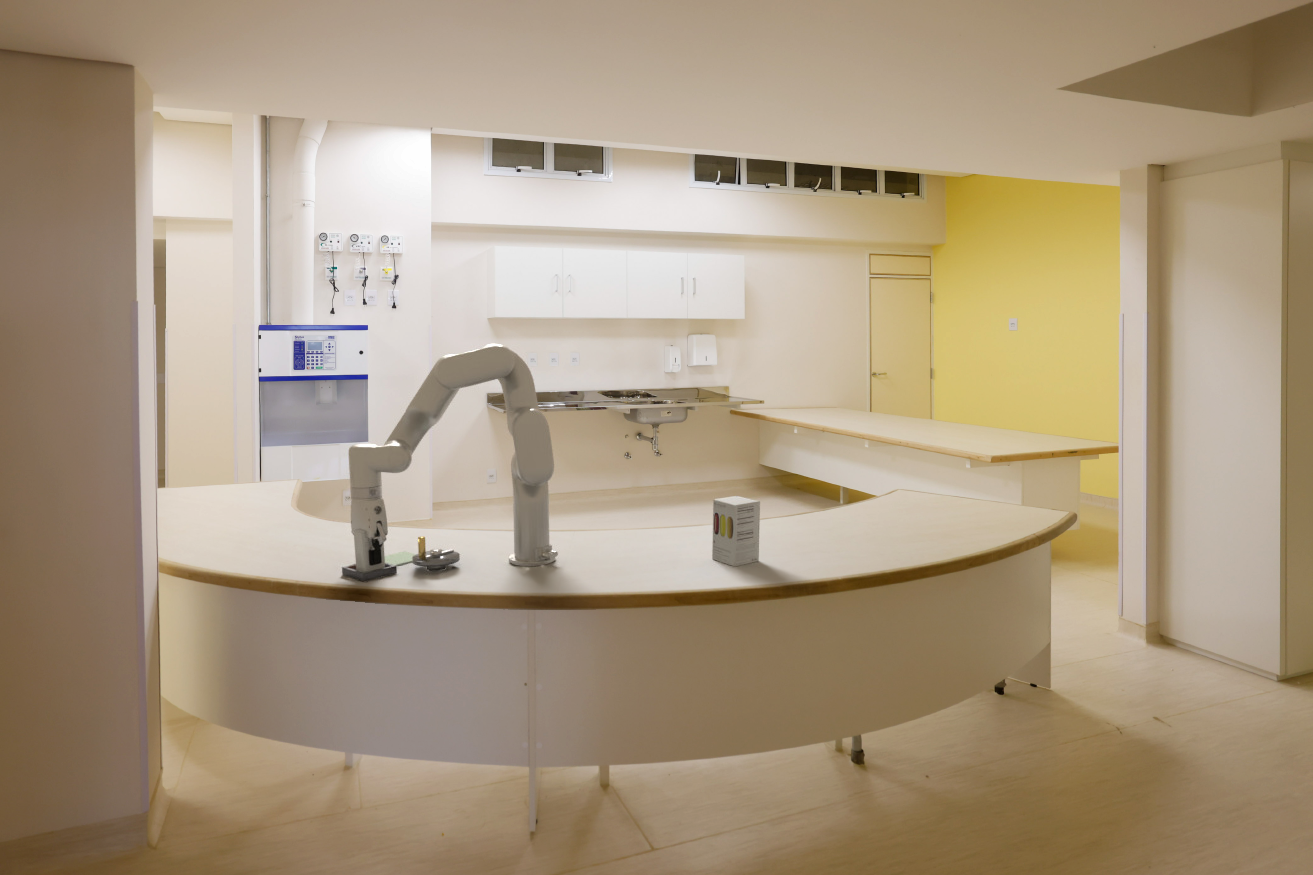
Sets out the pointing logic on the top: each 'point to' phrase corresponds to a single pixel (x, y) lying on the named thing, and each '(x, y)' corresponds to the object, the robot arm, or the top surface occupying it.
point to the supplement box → (736, 530)
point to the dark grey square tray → (353, 573)
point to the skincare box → (365, 552)
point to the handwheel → (434, 556)
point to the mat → (399, 558)
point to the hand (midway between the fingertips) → (370, 561)
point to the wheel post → (436, 568)
